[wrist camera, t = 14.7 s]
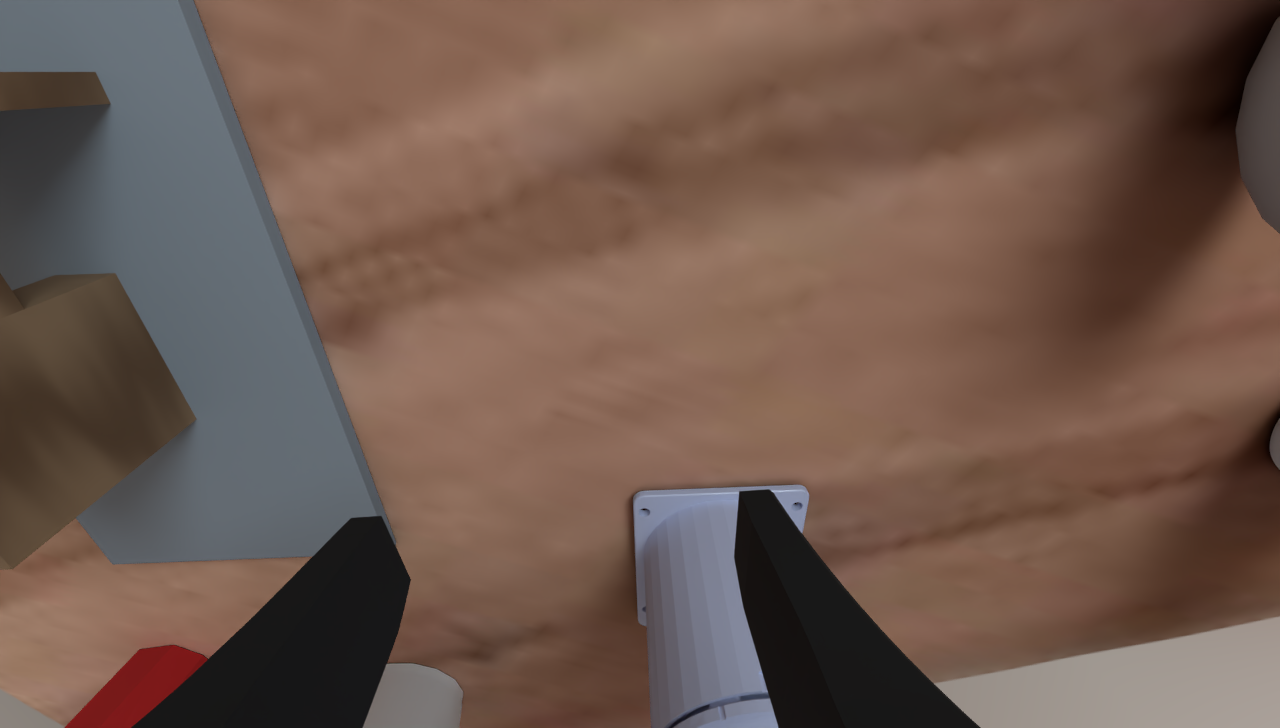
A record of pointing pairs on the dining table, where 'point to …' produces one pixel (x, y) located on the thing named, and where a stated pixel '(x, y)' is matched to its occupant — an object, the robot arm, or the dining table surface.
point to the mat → (179, 283)
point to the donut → (1262, 130)
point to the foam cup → (415, 699)
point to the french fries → (138, 687)
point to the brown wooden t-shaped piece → (72, 375)
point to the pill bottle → (1275, 445)
